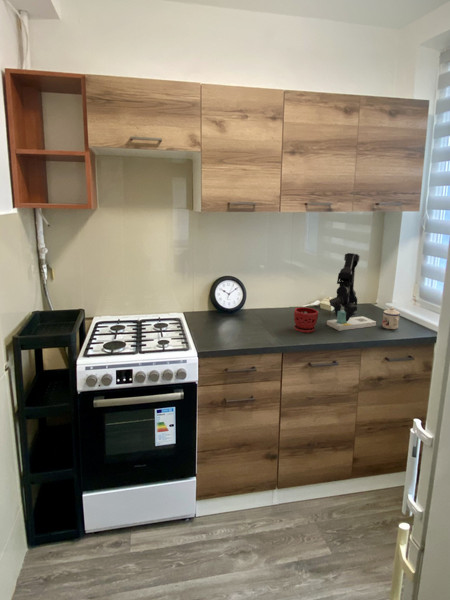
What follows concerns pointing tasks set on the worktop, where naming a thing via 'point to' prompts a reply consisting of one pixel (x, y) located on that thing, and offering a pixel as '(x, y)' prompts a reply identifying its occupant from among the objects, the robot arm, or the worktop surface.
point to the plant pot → (305, 319)
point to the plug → (341, 317)
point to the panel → (352, 323)
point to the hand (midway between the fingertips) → (342, 319)
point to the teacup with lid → (390, 319)
